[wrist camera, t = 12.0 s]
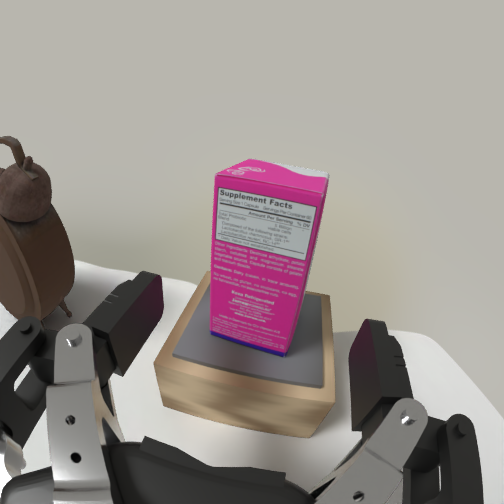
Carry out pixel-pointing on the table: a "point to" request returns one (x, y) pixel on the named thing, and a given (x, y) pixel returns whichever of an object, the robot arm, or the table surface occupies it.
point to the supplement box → (263, 251)
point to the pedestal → (250, 371)
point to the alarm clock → (31, 241)
